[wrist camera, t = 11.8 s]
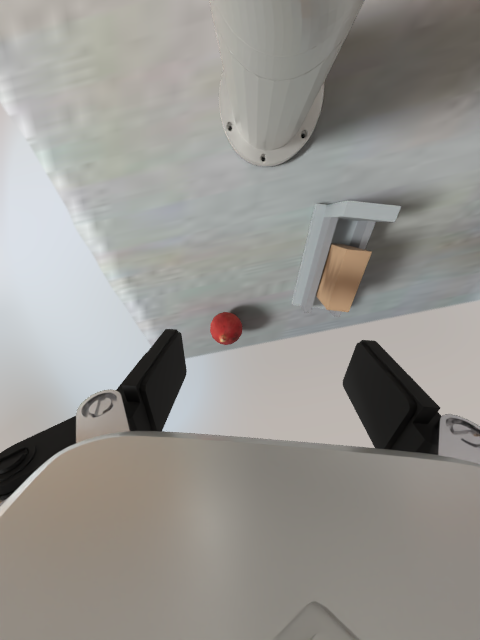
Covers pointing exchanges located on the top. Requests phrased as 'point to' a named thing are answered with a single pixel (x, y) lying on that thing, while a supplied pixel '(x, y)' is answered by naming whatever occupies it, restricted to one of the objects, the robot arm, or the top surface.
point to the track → (335, 227)
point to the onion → (226, 328)
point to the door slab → (341, 276)
